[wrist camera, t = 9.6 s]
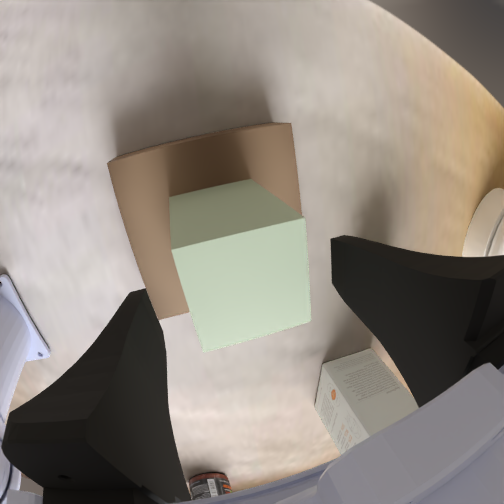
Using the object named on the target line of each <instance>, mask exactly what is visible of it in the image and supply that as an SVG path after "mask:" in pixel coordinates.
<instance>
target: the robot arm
mask: <svg viewBox="0 0 504 504" xmlns="http://www.w3.org/2000/svg"><path fill="white" fill-rule="evenodd" d="M331 264H332V284H333V285H334V287H335V288H336V290H337V292H338V293H339V295H340V296H341V297H342V299H343V300H344V302H345V303H346V304H347V305H348V306H349V307H350V308H351V310H352V311H353V312H354V313H355V314H356V315H357V316H358V317H359V318H360V320H361V321H362V322H363V323H364V324H365V325H366V326H367V327H368V328H369V329H370V331H371V332H372V333H373V334H374V335H375V336H376V337H377V339H378V340H379V341H380V342H381V344H382V345H383V347H384V348H385V350H386V351H387V352H388V354H389V355H390V357H391V358H392V360H393V361H394V363H395V365H396V366H397V368H398V370H399V371H400V373H401V375H402V376H403V378H404V380H405V382H406V383H407V385H408V387H409V389H410V391H411V393H412V395H413V396H414V399H415V401H416V403H417V405H418V407H419V409H417V410H415V411H414V412H412V413H411V414H409V415H407V416H405V417H404V418H402V419H400V420H399V421H397V422H395V423H393V424H391V425H390V426H388V427H386V428H384V429H382V430H380V431H378V432H377V433H375V434H373V435H372V436H370V437H369V438H367V439H365V440H364V441H362V442H360V443H358V444H357V445H355V446H353V447H351V448H350V449H349V450H347V451H346V452H345V453H344V454H342V455H341V456H340V457H338V458H336V459H334V460H331V461H329V462H327V463H324V464H322V465H319V466H317V467H314V468H312V469H309V470H306V471H304V472H301V473H298V474H295V475H292V476H289V477H286V478H283V479H280V480H277V481H274V482H271V483H267V484H264V485H260V486H257V487H253V488H249V489H245V490H241V491H237V492H233V493H229V494H224V495H220V496H215V497H210V498H204V499H198V500H192V499H191V497H190V494H189V491H188V488H187V485H186V481H185V478H184V475H183V471H182V468H181V464H180V460H179V457H178V453H177V448H176V444H175V440H174V435H173V430H172V425H171V420H170V414H169V406H168V389H167V358H166V348H165V341H164V335H163V330H162V328H161V326H160V323H159V321H158V318H157V316H156V313H155V311H154V308H153V306H152V303H151V301H150V298H149V296H148V293H147V290H146V288H145V289H141V290H137V291H133V292H130V293H129V294H128V296H127V297H126V298H125V300H124V301H123V303H122V304H121V306H120V307H119V309H118V310H117V312H116V313H115V314H114V316H113V317H112V319H111V320H110V322H109V323H108V324H107V326H106V327H105V328H104V330H103V331H102V332H101V334H100V335H99V336H98V338H97V339H96V340H95V342H94V343H93V344H92V345H91V346H90V348H89V349H88V350H87V351H86V352H85V353H84V354H83V355H82V357H81V358H80V359H79V360H78V361H77V362H76V363H75V364H74V365H73V366H72V367H71V368H69V369H68V370H67V371H66V372H65V373H64V374H63V375H62V376H61V377H60V378H59V379H58V380H56V381H55V382H54V383H53V384H51V385H50V386H49V387H48V388H46V389H45V390H44V391H42V392H41V393H40V394H38V395H37V396H35V397H34V398H33V399H31V400H29V401H28V402H26V403H25V404H23V405H21V406H20V407H18V408H17V409H15V410H13V411H11V412H10V413H9V417H8V420H7V424H6V425H5V424H4V423H5V420H6V416H7V413H8V410H9V406H10V403H11V400H12V397H13V394H14V391H15V388H16V385H17V382H18V379H19V377H20V374H21V371H22V369H23V366H24V363H25V361H32V360H37V359H43V358H48V357H49V356H50V354H51V352H50V350H49V348H48V347H47V345H46V343H45V342H44V340H43V339H42V337H41V335H40V334H39V332H38V330H37V329H36V327H35V325H34V324H33V322H32V320H31V318H30V317H29V315H28V313H27V311H26V309H25V308H24V306H23V304H22V302H21V300H20V298H19V296H18V294H17V292H16V290H15V288H14V286H13V284H12V282H11V280H10V278H9V277H8V276H7V275H5V274H2V275H0V281H1V283H2V284H1V283H0V504H504V255H497V256H488V257H455V256H442V255H434V254H427V253H420V252H415V251H410V250H406V249H401V248H397V247H393V246H389V245H385V244H381V243H377V242H374V241H370V240H366V239H362V238H358V237H353V236H346V235H343V236H339V237H336V238H332V239H331ZM41 353H42V354H41ZM21 472H22V473H23V474H25V475H26V476H27V477H29V478H30V479H32V480H33V481H34V482H36V483H37V484H39V485H40V486H42V487H43V488H44V490H43V496H41V495H38V494H36V493H31V492H25V491H19V488H20V481H21Z"/></svg>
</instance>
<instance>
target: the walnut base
mask: <svg viewBox="0 0 504 504" xmlns="http://www.w3.org/2000/svg"><path fill="white" fill-rule="evenodd" d="M107 165H108V169H109V173H110V177H111V181H112V184H113V188H114V192H115V195H116V199H117V202H118V206H119V209H120V213H121V216H122V219H123V223H124V226H125V229H126V232H127V235H128V238H129V241H130V244H131V247H132V250H133V253H134V256H135V259H136V262H137V265H138V268H139V271H140V273H141V276H142V279H143V282H144V284H145V287H146V290H147V292H148V295H149V297H150V300H151V303H152V305H153V308H154V310H155V313H156V315H157V318H158V320H160V319H164V318H168V317H172V316H176V315H180V314H184V313H188V312H190V311H189V308H188V304H187V301H186V298H185V295H184V292H183V288H182V285H181V282H180V278H179V275H178V272H177V268H176V265H175V261H174V258H173V254H172V251H171V235H170V210H169V197H172V196H176V195H180V194H184V193H189V192H193V191H197V190H201V189H206V188H210V187H215V186H219V185H224V184H229V183H233V182H238V181H243V180H248V179H252V180H253V181H255V182H256V183H258V184H259V185H261V186H262V187H263V188H265V189H266V190H268V191H269V192H270V193H272V194H273V195H275V196H276V197H277V198H279V199H280V200H282V201H283V202H284V203H286V204H287V205H288V206H290V207H291V208H293V209H294V210H295V211H297V212H298V213H299V214H301V215H302V212H301V201H300V192H299V183H298V174H297V165H296V157H295V149H294V141H293V133H292V126H291V123H275V122H273V123H266V124H259V125H253V126H247V127H241V128H235V129H230V130H224V131H219V132H214V133H209V134H204V135H199V136H195V137H190V138H186V139H182V140H177V141H173V142H169V143H165V144H161V145H157V146H153V147H150V148H146V149H142V150H139V151H135V152H132V153H128V154H125V155H121V156H118V157H116V158H114V159H113V160H111V161H110V162H108V163H107Z"/></svg>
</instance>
